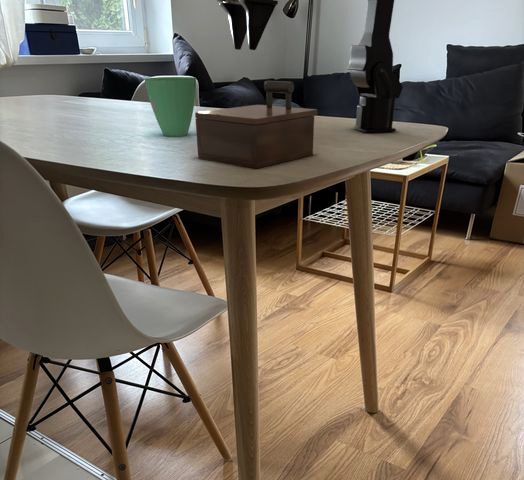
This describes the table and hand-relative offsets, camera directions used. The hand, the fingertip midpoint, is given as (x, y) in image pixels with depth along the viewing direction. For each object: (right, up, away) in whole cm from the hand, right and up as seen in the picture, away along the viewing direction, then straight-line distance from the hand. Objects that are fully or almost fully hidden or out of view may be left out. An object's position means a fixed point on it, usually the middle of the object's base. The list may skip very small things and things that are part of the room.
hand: (244, 49), depth 90 cm
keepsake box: (+2, -22, -8) cm, 24 cm away
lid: (+2, -17, -11) cm, 20 cm away
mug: (-15, -9, +15) cm, 23 cm away
